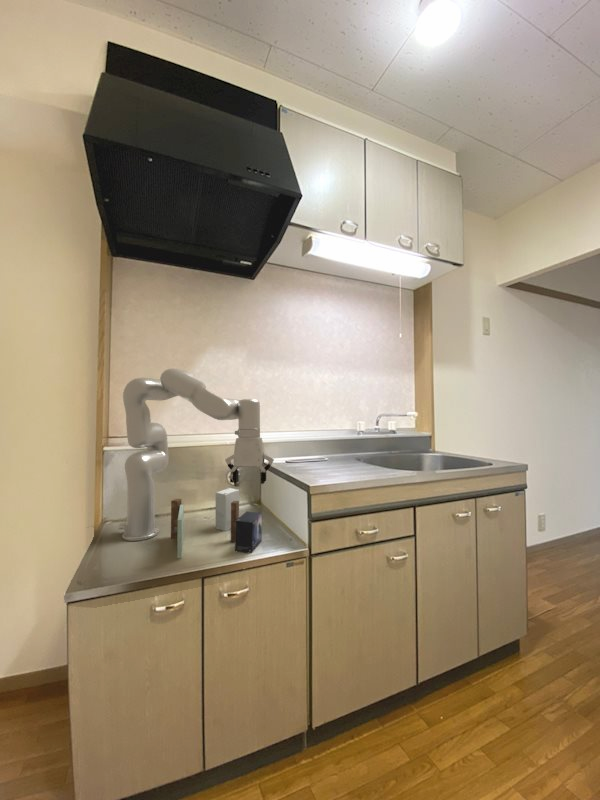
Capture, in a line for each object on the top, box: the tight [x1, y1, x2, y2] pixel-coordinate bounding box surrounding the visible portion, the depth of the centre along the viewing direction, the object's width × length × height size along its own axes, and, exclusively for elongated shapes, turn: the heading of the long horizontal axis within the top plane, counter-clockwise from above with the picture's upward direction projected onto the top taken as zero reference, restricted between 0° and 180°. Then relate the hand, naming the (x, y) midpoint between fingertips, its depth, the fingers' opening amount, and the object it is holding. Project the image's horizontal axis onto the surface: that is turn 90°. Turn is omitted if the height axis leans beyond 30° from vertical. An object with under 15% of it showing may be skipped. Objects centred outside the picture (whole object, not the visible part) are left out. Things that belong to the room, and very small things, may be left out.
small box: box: [234, 511, 263, 554], centre depth 115 cm, size 11×6×10 cm, turn 168°
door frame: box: [170, 498, 240, 543], centre depth 121 cm, size 25×3×14 cm, turn 83°
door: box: [174, 503, 185, 559], centre depth 114 cm, size 19×3×12 cm, turn 18°
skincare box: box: [215, 487, 240, 532], centre depth 133 cm, size 8×6×15 cm
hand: (249, 482), depth 115 cm, fingers open, 9 cm apart
